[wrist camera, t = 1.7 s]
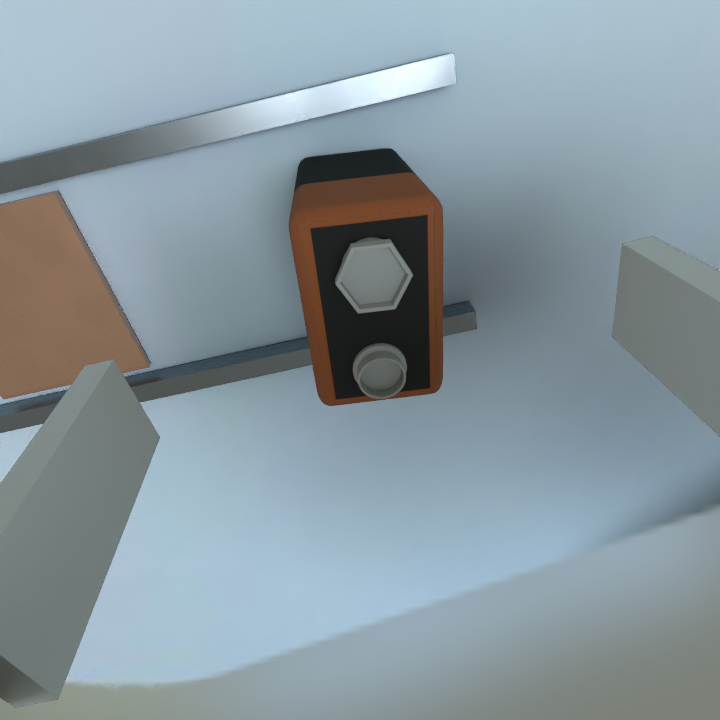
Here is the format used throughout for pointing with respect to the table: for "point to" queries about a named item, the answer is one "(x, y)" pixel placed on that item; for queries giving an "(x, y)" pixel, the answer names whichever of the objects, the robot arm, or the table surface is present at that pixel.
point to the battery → (369, 276)
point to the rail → (86, 281)
